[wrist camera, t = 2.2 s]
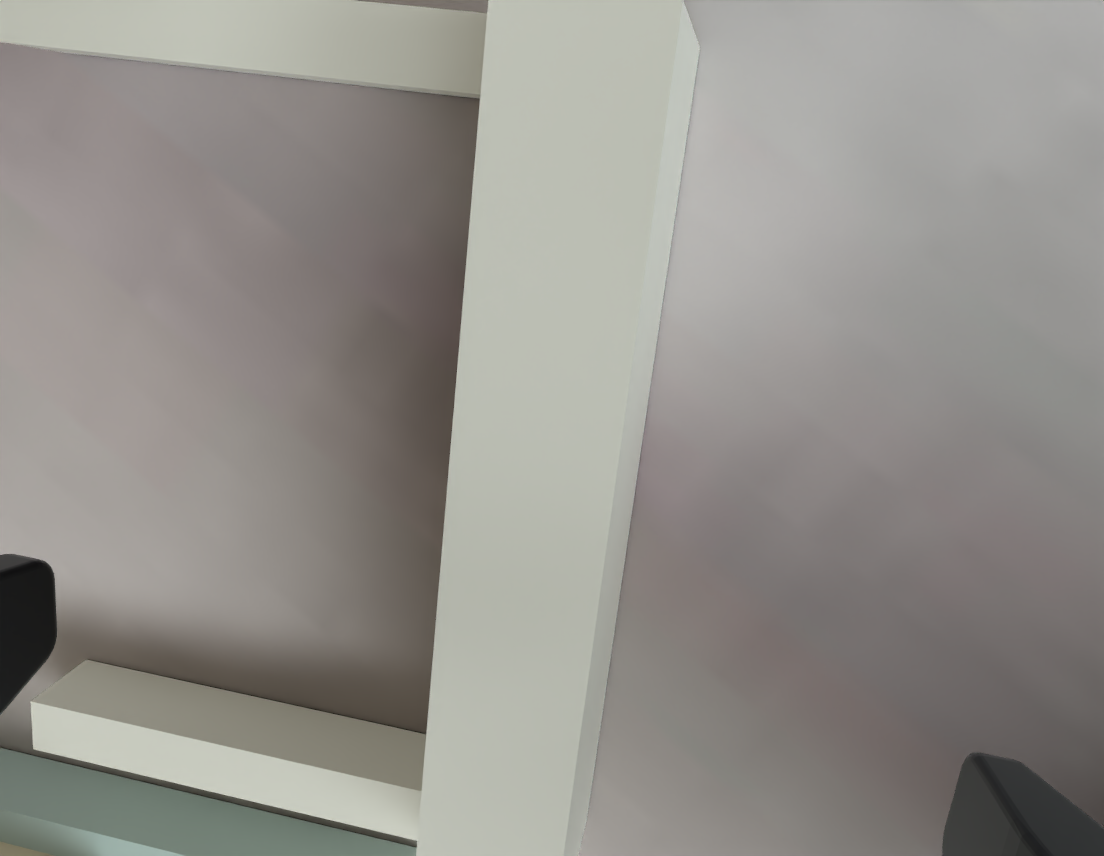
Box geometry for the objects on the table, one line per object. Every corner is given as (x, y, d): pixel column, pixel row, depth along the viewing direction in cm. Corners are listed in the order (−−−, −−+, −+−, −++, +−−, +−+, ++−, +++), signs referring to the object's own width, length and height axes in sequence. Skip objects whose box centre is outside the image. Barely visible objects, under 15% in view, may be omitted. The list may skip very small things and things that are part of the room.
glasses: (700, 47, 13) (683, -2, 9) (586, 818, 17) (542, 1006, 13) (61, -16, 15) (-175, -78, 11) (88, 703, 18) (-81, 842, 15)
